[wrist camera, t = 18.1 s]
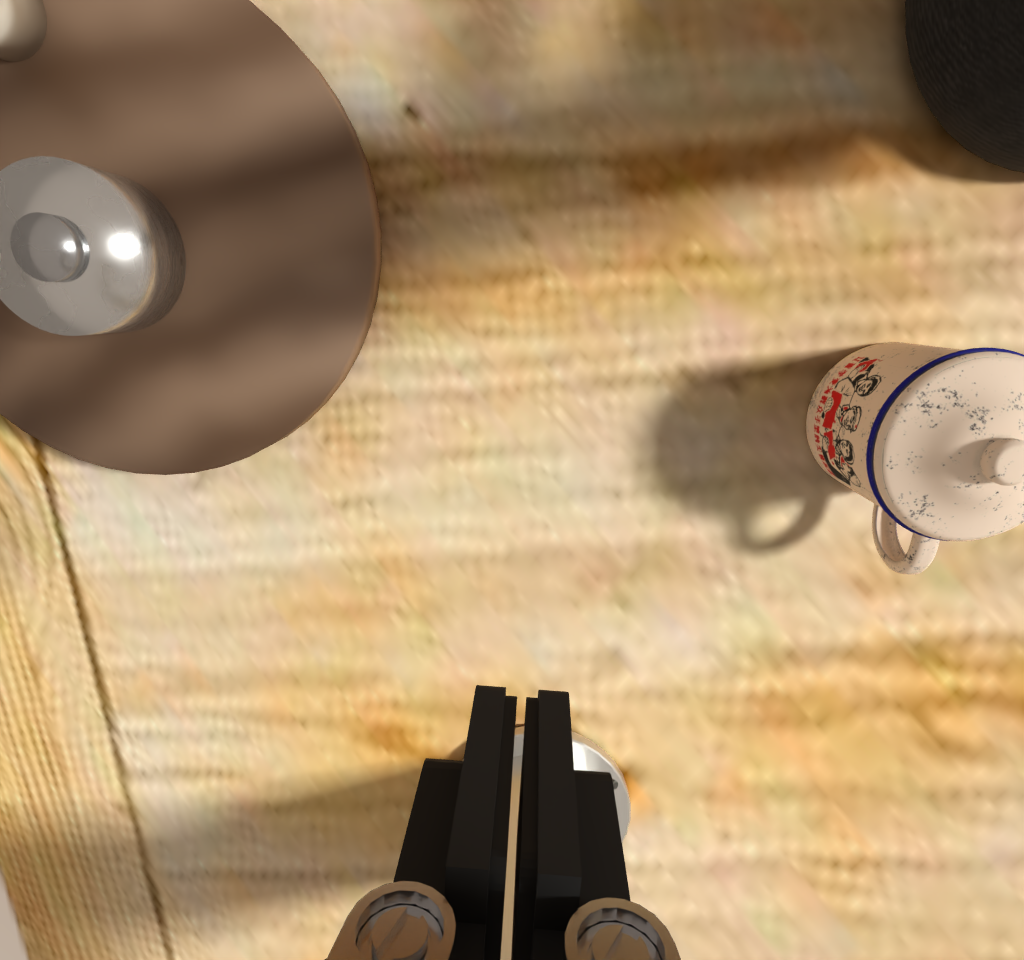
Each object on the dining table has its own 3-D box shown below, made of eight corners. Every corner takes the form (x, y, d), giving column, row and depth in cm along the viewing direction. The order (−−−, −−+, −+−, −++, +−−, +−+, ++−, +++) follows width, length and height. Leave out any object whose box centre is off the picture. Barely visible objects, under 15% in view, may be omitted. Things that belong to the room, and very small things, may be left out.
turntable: (459, 361, 38) (444, 372, 32) (83, 529, 41) (9, 566, 36) (232, -141, 32) (164, -238, 26) (-181, 107, 36) (-321, 70, 30)
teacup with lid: (813, 332, 38) (929, 346, 26) (976, 342, 37) (1163, 360, 26) (779, 531, 41) (869, 619, 30) (929, 541, 41) (1077, 634, 29)
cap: (216, 253, 35) (163, 245, 30) (128, 363, 37) (65, 372, 32) (92, 136, 34) (17, 109, 29) (8, 256, 35) (-77, 249, 30)
